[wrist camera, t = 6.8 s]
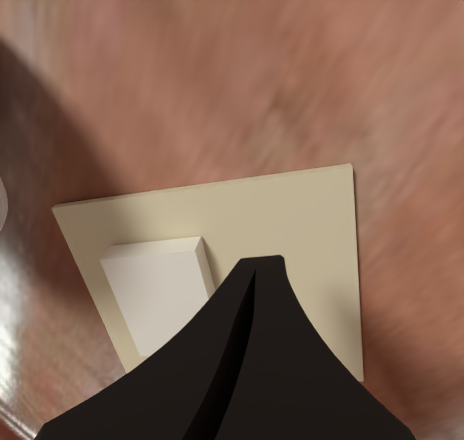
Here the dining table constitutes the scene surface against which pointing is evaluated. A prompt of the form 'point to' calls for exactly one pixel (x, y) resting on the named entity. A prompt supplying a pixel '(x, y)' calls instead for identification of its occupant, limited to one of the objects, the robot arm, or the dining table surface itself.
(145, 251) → the tile
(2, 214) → the mug
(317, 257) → the mat
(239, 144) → the dining table surface
